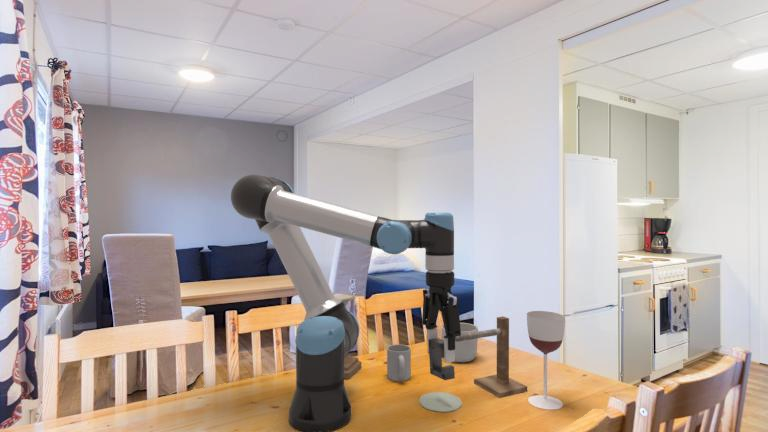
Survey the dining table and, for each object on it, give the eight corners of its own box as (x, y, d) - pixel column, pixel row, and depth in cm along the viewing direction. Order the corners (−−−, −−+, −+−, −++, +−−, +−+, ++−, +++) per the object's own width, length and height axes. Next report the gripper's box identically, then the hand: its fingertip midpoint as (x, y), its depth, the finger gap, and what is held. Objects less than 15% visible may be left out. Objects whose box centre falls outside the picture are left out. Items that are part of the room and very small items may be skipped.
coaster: (434, 415, 107) (434, 414, 107) (412, 398, 117) (412, 396, 117) (470, 406, 112) (470, 405, 112) (446, 391, 122) (446, 389, 122)
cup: (408, 372, 136) (408, 344, 136) (414, 385, 127) (414, 354, 126) (385, 373, 135) (385, 345, 135) (390, 386, 126) (390, 355, 125)
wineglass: (541, 412, 109) (542, 321, 109) (519, 396, 119) (519, 312, 118) (572, 408, 112) (573, 318, 111) (548, 392, 121) (548, 310, 121)
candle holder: (315, 375, 134) (315, 297, 134) (331, 363, 144) (331, 291, 144) (348, 379, 130) (348, 300, 130) (362, 367, 141) (361, 293, 141)
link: (445, 380, 111) (443, 344, 111) (430, 373, 117) (428, 339, 118) (454, 378, 112) (452, 342, 113) (439, 371, 118) (437, 338, 119)
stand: (468, 405, 113) (469, 329, 113) (444, 389, 123) (445, 319, 123) (527, 390, 122) (527, 320, 122) (500, 377, 132) (500, 312, 132)
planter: (483, 356, 151) (483, 325, 151) (470, 367, 141) (470, 333, 141) (449, 350, 158) (450, 320, 158) (435, 360, 147) (435, 328, 147)
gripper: (475, 274, 107) (476, 366, 108) (431, 265, 126) (432, 345, 126) (450, 276, 104) (451, 372, 104) (408, 267, 122) (409, 348, 122)
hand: (440, 357), depth 115 cm, fingers closed on link, 7 cm apart
